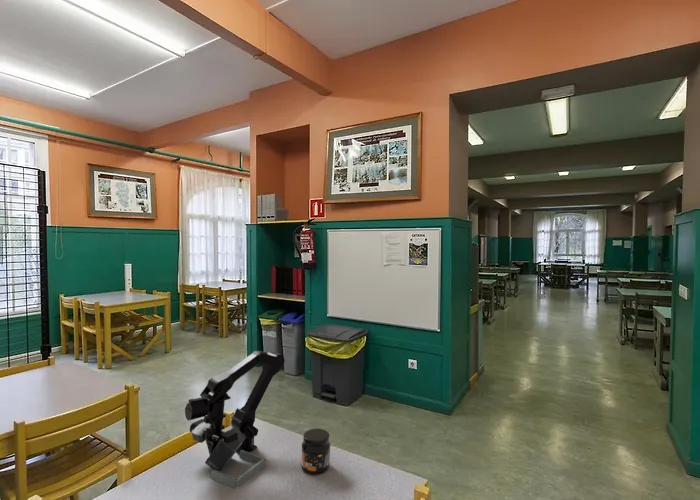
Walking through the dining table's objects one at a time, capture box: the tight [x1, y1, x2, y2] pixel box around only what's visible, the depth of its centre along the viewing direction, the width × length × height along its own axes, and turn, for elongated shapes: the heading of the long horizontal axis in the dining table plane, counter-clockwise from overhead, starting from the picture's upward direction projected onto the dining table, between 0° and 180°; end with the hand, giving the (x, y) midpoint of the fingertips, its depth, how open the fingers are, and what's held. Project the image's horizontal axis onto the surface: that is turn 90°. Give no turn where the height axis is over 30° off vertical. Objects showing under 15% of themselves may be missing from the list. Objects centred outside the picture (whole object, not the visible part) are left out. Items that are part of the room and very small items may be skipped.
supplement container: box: [300, 428, 331, 476], centre depth 131 cm, size 10×10×12 cm
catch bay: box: [210, 450, 267, 490], centre depth 127 cm, size 15×12×2 cm
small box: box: [204, 426, 246, 472], centre depth 130 cm, size 11×6×10 cm
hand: (211, 455), depth 132 cm, fingers closed
